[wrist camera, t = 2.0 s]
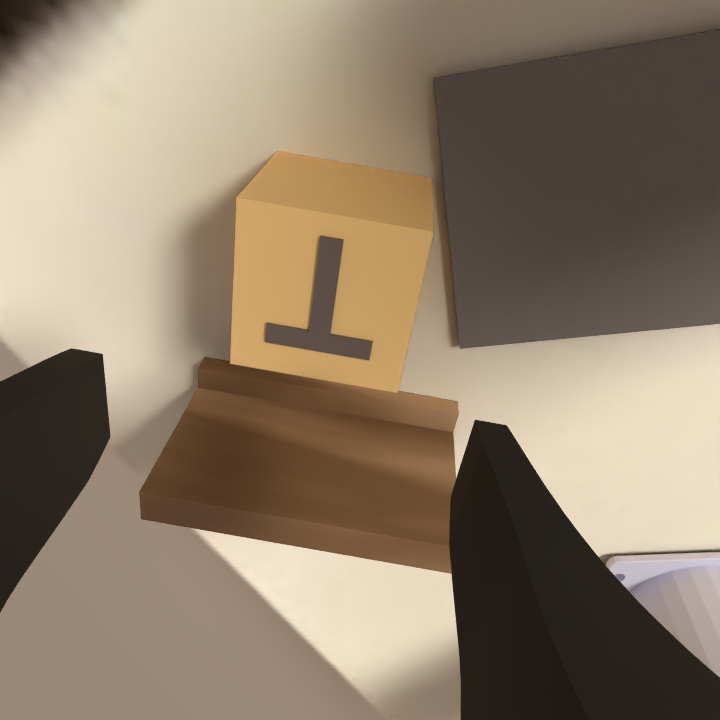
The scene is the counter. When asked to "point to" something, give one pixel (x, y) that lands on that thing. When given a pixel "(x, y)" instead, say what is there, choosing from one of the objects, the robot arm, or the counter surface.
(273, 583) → the counter surface
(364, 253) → the lettered cube
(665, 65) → the charcoal mat
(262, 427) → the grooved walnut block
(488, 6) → the counter surface
